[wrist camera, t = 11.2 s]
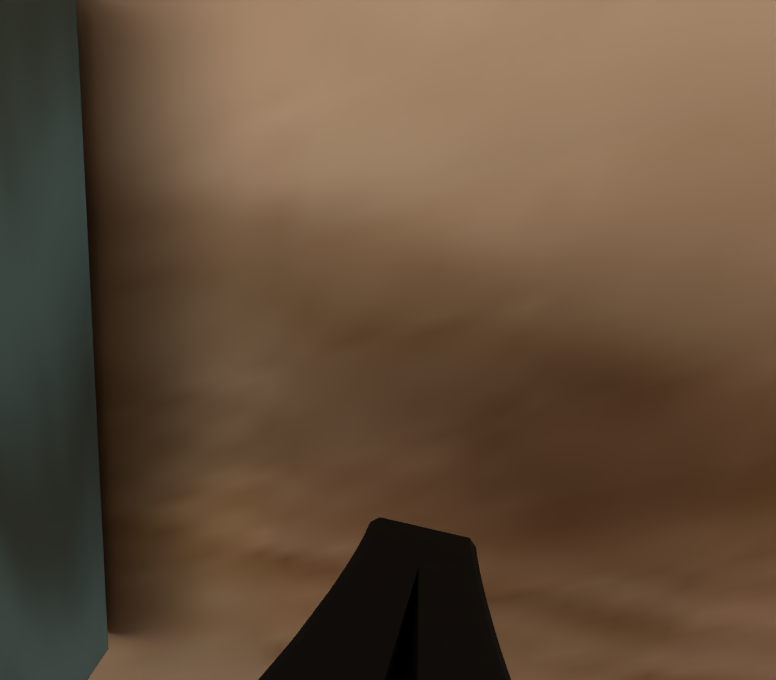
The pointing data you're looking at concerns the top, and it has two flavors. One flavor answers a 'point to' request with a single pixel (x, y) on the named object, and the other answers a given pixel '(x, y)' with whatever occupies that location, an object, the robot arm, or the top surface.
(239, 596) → the top surface
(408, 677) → the robot arm
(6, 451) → the tray
